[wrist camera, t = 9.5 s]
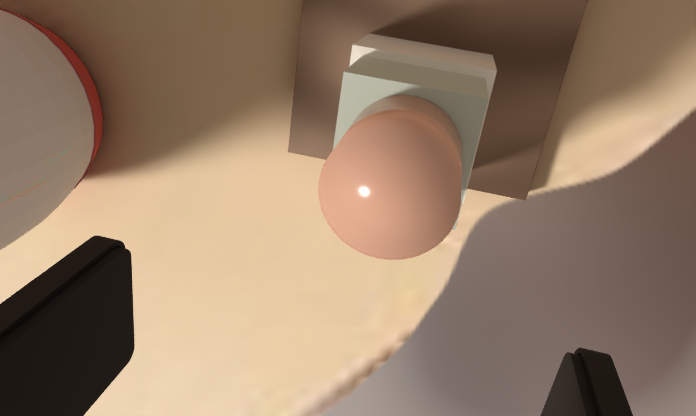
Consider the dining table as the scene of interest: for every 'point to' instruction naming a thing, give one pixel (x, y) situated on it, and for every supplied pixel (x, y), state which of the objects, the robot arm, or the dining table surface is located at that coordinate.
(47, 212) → the citrus juicer
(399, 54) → the cream block
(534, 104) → the serving board
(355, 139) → the pink domed cylinder
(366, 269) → the dining table surface
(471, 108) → the sage block
